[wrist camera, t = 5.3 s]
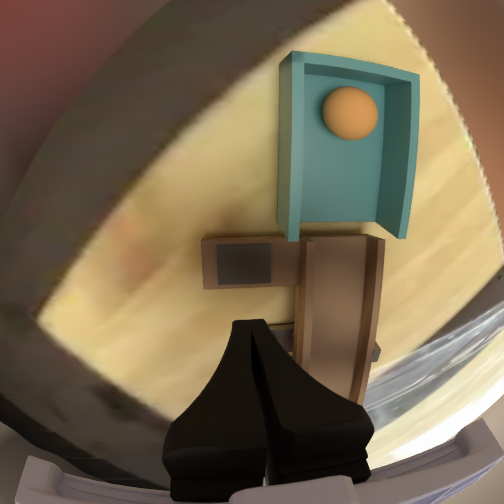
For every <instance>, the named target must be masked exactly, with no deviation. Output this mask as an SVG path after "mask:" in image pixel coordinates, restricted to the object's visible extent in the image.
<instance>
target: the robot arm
mask: <svg viewBox="0 0 504 504" xmlns="http://www.w3.org/2000/svg"><path fill="white" fill-rule="evenodd" d="M374 431H375V430H374V426H373V424H372V421H371V419H370V417H369V416H368V414H367V413H366V411H365V409H364V408H363V406H361V405H359V404H357V403H355V402H352V401H350V400H348V399H346V398H344V397H342V396H340V395H338V394H337V393H335V392H333V391H331V390H330V389H328V388H327V387H325V386H324V385H323V384H321V383H320V382H318V381H317V380H316V379H314V378H313V377H312V376H311V375H309V374H308V373H307V372H306V371H305V370H304V369H303V368H302V367H301V366H299V365H298V364H297V363H296V362H295V360H294V359H293V358H292V357H291V356H290V355H289V354H288V353H287V352H286V350H285V349H284V348H283V347H282V345H281V344H280V343H279V342H278V340H277V339H276V337H275V336H274V335H273V333H272V332H271V330H270V328H269V327H268V325H267V323H266V321H265V320H264V319H251V320H235V321H233V322H232V331H231V335H230V338H229V342H228V344H227V347H226V350H225V352H224V355H223V357H222V359H221V361H220V363H219V365H218V367H217V369H216V371H215V373H214V374H213V376H212V377H211V379H210V381H209V382H208V384H207V385H206V386H205V388H204V389H203V391H202V392H201V393H200V395H199V396H198V397H197V398H196V399H195V400H194V402H193V403H192V404H191V405H190V406H189V407H188V408H187V409H186V410H185V411H184V412H183V413H182V414H181V415H180V416H179V417H178V418H177V419H176V420H175V421H173V422H172V423H171V425H170V428H169V430H168V433H167V435H166V438H165V442H164V446H163V454H162V462H163V465H164V467H165V469H166V470H167V472H168V474H169V476H170V477H171V485H170V491H160V490H150V489H141V488H134V487H127V486H120V485H115V484H109V483H104V482H99V481H94V480H90V479H85V478H81V477H77V476H73V475H69V474H65V473H63V472H62V471H61V469H60V468H58V467H57V466H56V465H55V464H53V463H51V462H48V461H45V460H42V459H39V458H36V457H33V456H28V459H27V462H26V465H25V468H24V471H23V474H22V477H21V480H20V483H19V487H18V490H17V494H16V497H15V503H16V504H439V503H441V502H442V501H444V500H446V499H448V498H450V497H451V496H453V495H455V494H457V493H458V492H460V491H462V490H463V489H465V488H467V487H468V486H470V485H472V484H473V483H475V482H476V481H478V480H479V479H480V478H481V477H482V476H483V475H485V474H486V473H487V472H488V471H489V470H490V469H491V468H492V467H494V466H495V465H496V464H497V463H498V462H499V461H500V460H501V459H502V458H503V457H504V451H503V450H502V448H501V447H500V445H499V443H498V442H497V440H496V438H495V437H494V435H493V434H492V432H491V431H490V429H489V428H488V426H487V425H486V423H485V421H484V420H483V418H480V419H479V420H477V421H475V422H473V423H471V424H469V425H467V426H465V427H464V428H463V429H461V430H460V431H459V432H458V434H457V435H456V437H455V438H454V439H452V440H450V441H447V442H445V443H443V444H441V445H438V446H436V447H434V448H432V449H429V450H427V451H424V452H422V453H419V454H417V455H414V456H411V457H409V458H406V459H403V460H400V461H398V462H395V463H392V464H389V465H386V466H382V467H379V468H376V469H373V470H370V469H369V466H368V463H367V461H366V459H367V458H368V454H367V452H366V449H365V448H366V446H367V444H368V443H369V441H370V439H371V438H372V436H373V434H374ZM266 463H267V472H268V481H269V486H266V485H265V478H264V477H265V468H266Z"/></svg>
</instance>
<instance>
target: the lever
mask: <svg viewBox="0 0 504 504" xmlns="http://www.w3.org/2000/svg"><path fill="white" fill-rule="evenodd" d="M201 248H202V267H203V284H204V289H229V288H253V287H273V286H292V285H295V323H294V349H293V356H291V357H292V358H293V359H294V360H295V362H296V363H297V364H298V365H299V366H301V367H302V368H303V369H304V370H305V371H306V372H307V373H308V374H309V375H311V376H312V377H313V378H314V379H316V380H317V381H318V382H320V383H321V384H323V385H324V386H325V387H327V388H328V389H330V390H331V391H333V392H335V393H337V394H338V395H340V396H342V397H344V398H346V399H348V400H350V401H352V402H355V403H357V404H359V405H361V406H363V401H364V397H365V392H366V388H367V383H368V378H369V373H370V367H371V362H372V356H373V350H374V344H375V338H376V331H377V324H378V316H379V308H380V299H381V290H382V279H383V267H384V253H385V240H384V239H381V238H378V237H375V236H371V235H368V234H346V235H302V236H299V241H294V242H288V241H287V239H286V237H285V236H265V237H234V238H206V239H202V240H201Z"/></svg>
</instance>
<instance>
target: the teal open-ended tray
mask: <svg viewBox="0 0 504 504" xmlns="http://www.w3.org/2000/svg"><path fill="white" fill-rule="evenodd" d="M344 86H352V87H357V88H359V89H361V90H363V91H365V92H366V93H368V94H369V95H370V96H371V98H372V99H373V100H374V102H375V104H376V107H377V111H378V120H377V124H376V126H375V128H374V130H373V131H372V132H371V133H370V134H369V135H368V136H366V137H364V138H362V139H359V140H345V139H342V138H340V137H338V136H336V135H335V134H333V133H332V132H331V131H330V130H329V129H328V127H327V126H326V124H325V122H324V119H323V114H322V109H323V104H324V101H325V99H326V97H327V96H328V95H329V94H330V93H331V92H332V91H333V90H335V89H337V88H340V87H344ZM419 107H420V78H419V74H415V73H412V72H408V71H404V70H401V69H397V68H393V67H389V66H385V65H380V64H376V63H371V62H366V61H361V60H356V59H351V58H345V57H339V56H332V55H325V54H317V53H309V52H299V51H291V52H290V53H289V54H288V55H287V56H286V57H285V58H284V59H283V60H282V62H281V63H280V64H279V156H278V201H277V222H278V224H279V226H280V228H281V230H282V232H283V233H284V235H285V237H286V239H287V241H288V242H294V241H299V230H300V222H376V223H378V224H379V225H380V226H382V227H383V228H384V229H386V230H387V231H388V232H390V233H391V234H392V235H394V236H395V237H396V238H397V239H406V234H407V228H408V223H409V216H410V210H411V203H412V196H413V188H414V180H415V171H416V161H417V148H418V133H419Z"/></svg>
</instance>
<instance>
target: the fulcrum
mask: <svg viewBox="0 0 504 504" xmlns="http://www.w3.org/2000/svg"><path fill="white" fill-rule="evenodd" d="M268 327H269V328H270V330H271V332H272V333H273V335H274V336H275V337H276V339H277V340H278V342H279V343H280V344H281V345H282V347H283V348H284V349H285V350H286V352H293V349H294V324H288V325H274V326H268ZM380 352H381V349H380V347H379V346H378V344H377V343H376V341H375V344H374V350H373V356H372V362H377V361H378V358H379V355H380Z"/></svg>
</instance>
